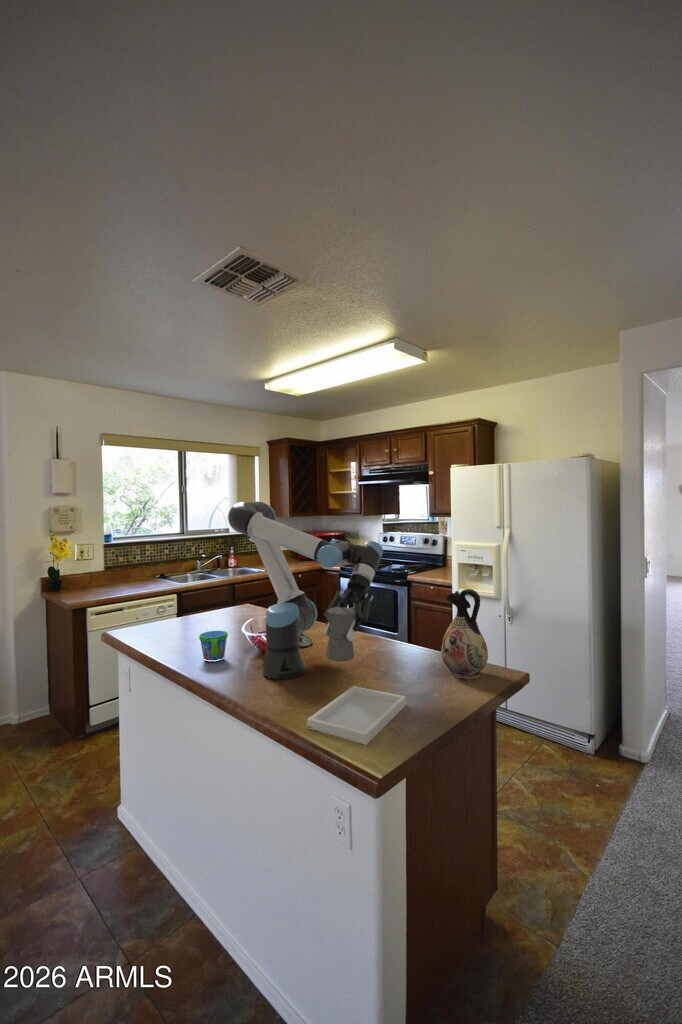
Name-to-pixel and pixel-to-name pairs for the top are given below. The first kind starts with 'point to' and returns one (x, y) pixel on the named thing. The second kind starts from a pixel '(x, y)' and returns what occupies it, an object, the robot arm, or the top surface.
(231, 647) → the top surface
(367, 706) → the docking tray
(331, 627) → the coffeepot
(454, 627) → the ceramic jug
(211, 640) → the snack cup
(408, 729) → the top surface
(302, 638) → the lid
